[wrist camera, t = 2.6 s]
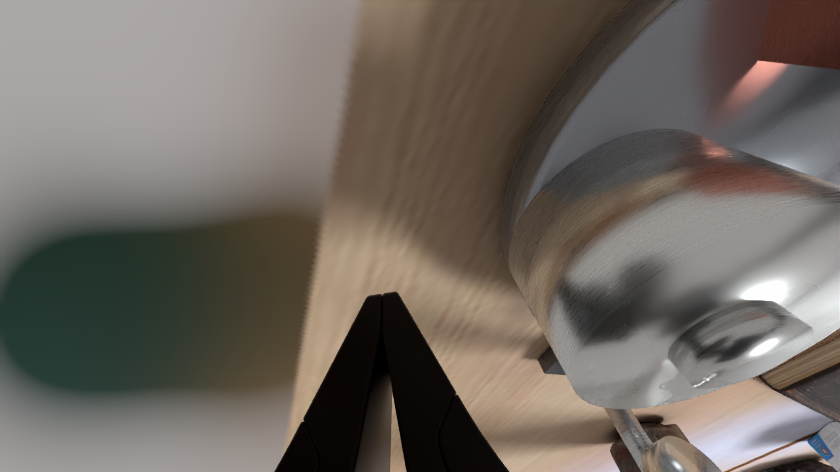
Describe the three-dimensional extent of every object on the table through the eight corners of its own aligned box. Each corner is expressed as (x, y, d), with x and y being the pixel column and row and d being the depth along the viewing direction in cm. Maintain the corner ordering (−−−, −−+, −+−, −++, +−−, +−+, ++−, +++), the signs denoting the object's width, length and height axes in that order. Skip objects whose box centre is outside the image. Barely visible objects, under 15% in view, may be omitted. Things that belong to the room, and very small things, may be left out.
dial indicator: (645, 305, 19) (844, 516, 11) (582, 363, 22) (698, 555, 14) (595, 297, 17) (778, 526, 10) (537, 359, 21) (637, 566, 13)
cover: (770, 166, 9) (1037, 265, 5) (618, 313, 13) (716, 431, 9) (595, 91, 7) (832, 169, 3) (474, 291, 11) (527, 432, 7)
